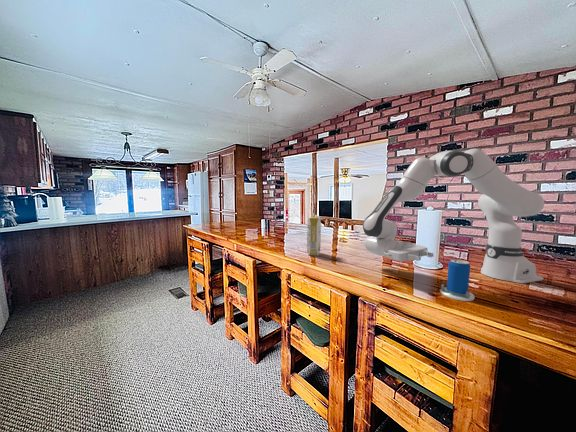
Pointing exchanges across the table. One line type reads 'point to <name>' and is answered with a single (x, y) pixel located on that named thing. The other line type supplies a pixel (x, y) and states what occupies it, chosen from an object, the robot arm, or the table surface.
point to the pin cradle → (466, 297)
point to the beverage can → (458, 276)
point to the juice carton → (313, 235)
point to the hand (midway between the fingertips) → (426, 257)
